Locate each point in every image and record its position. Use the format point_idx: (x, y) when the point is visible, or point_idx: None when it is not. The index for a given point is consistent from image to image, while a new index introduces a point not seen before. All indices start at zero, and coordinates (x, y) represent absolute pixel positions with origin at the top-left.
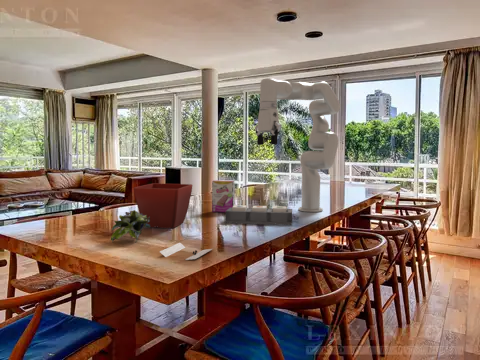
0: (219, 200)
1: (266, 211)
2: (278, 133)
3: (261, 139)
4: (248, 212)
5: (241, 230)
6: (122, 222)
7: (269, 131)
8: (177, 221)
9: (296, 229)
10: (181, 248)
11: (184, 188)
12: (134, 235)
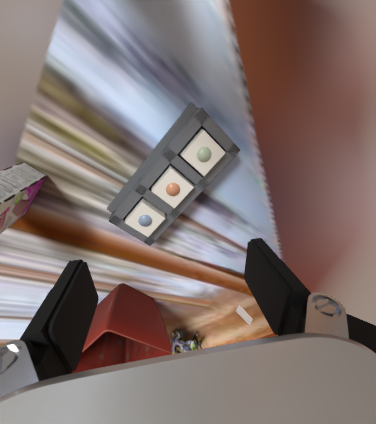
0: (16, 214)
1: (176, 170)
2: (354, 317)
3: (75, 316)
4: (178, 215)
5: (213, 238)
6: None
7: (121, 377)
8: (148, 300)
9: (262, 166)
10: (241, 308)
11: (148, 341)
12: (203, 339)
